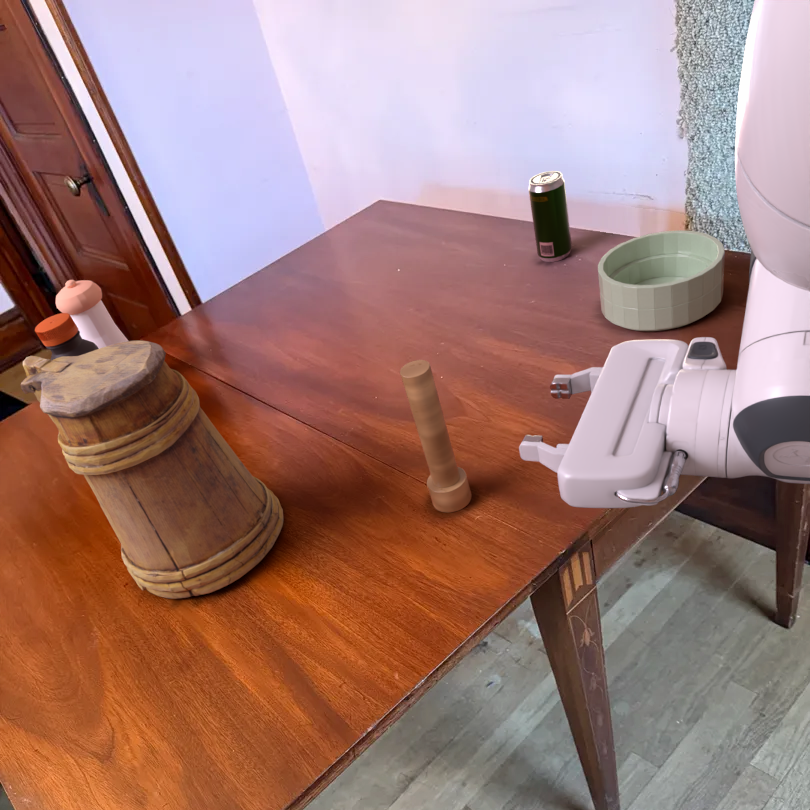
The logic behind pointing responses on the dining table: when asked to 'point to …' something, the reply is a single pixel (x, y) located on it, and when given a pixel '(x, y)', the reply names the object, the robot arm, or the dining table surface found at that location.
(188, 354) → the dining table surface
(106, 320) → the pepper shaker
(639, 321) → the bowl
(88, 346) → the bottle
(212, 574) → the tankard
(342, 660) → the dining table surface
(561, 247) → the beer can
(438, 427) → the wooden pestle
